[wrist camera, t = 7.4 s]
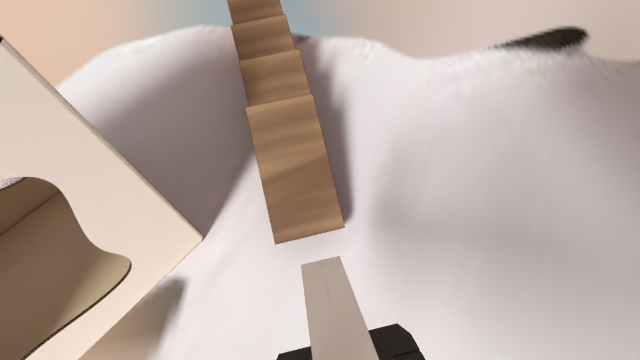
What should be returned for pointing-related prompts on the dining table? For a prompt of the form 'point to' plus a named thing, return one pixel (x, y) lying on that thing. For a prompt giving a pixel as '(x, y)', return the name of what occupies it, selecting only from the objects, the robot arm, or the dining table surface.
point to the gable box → (71, 224)
